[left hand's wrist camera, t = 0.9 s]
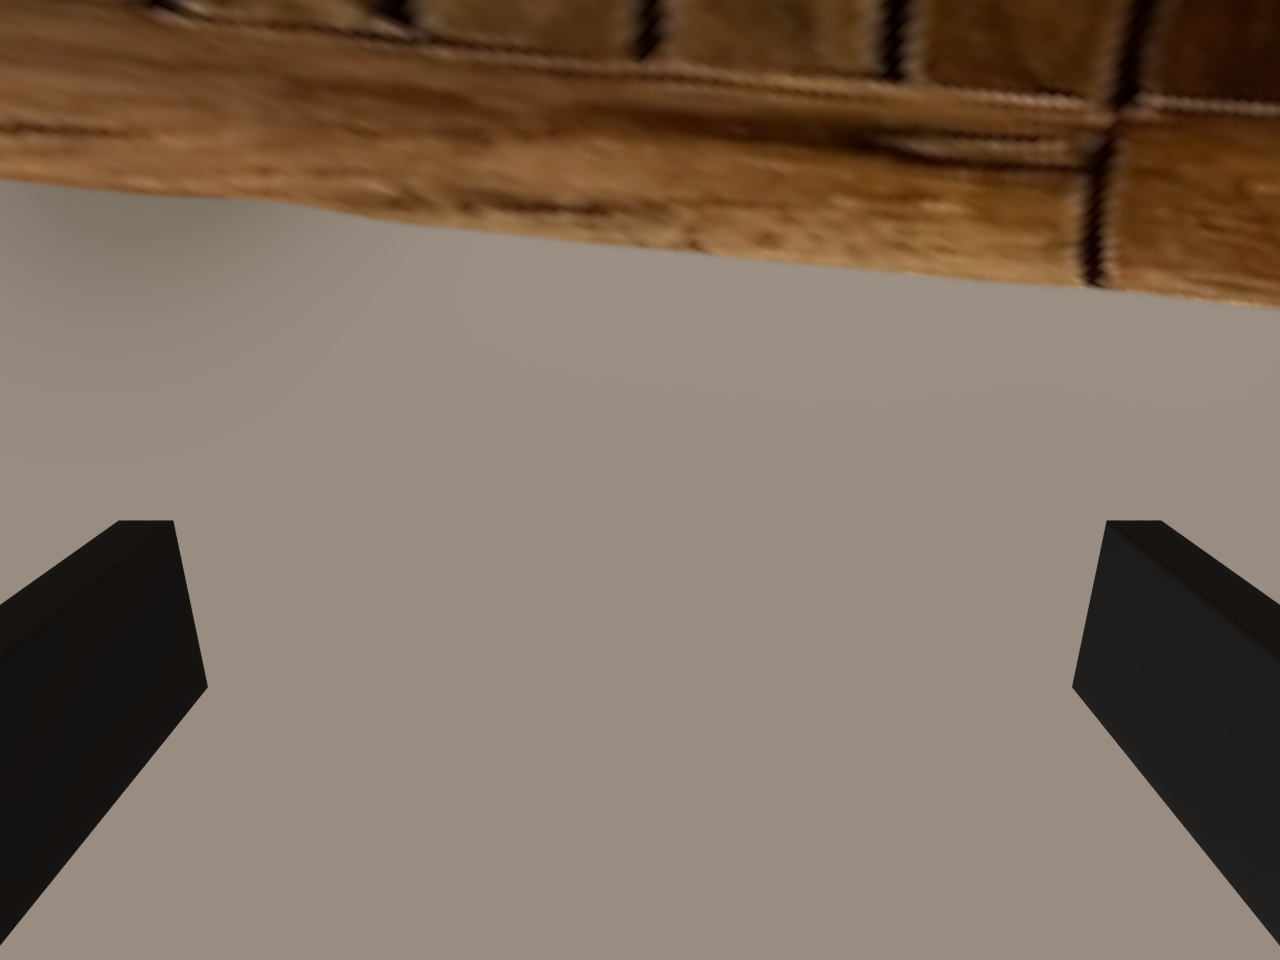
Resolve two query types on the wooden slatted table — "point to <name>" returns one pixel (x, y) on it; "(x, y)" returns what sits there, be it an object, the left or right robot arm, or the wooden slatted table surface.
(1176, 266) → the wooden slatted table surface
